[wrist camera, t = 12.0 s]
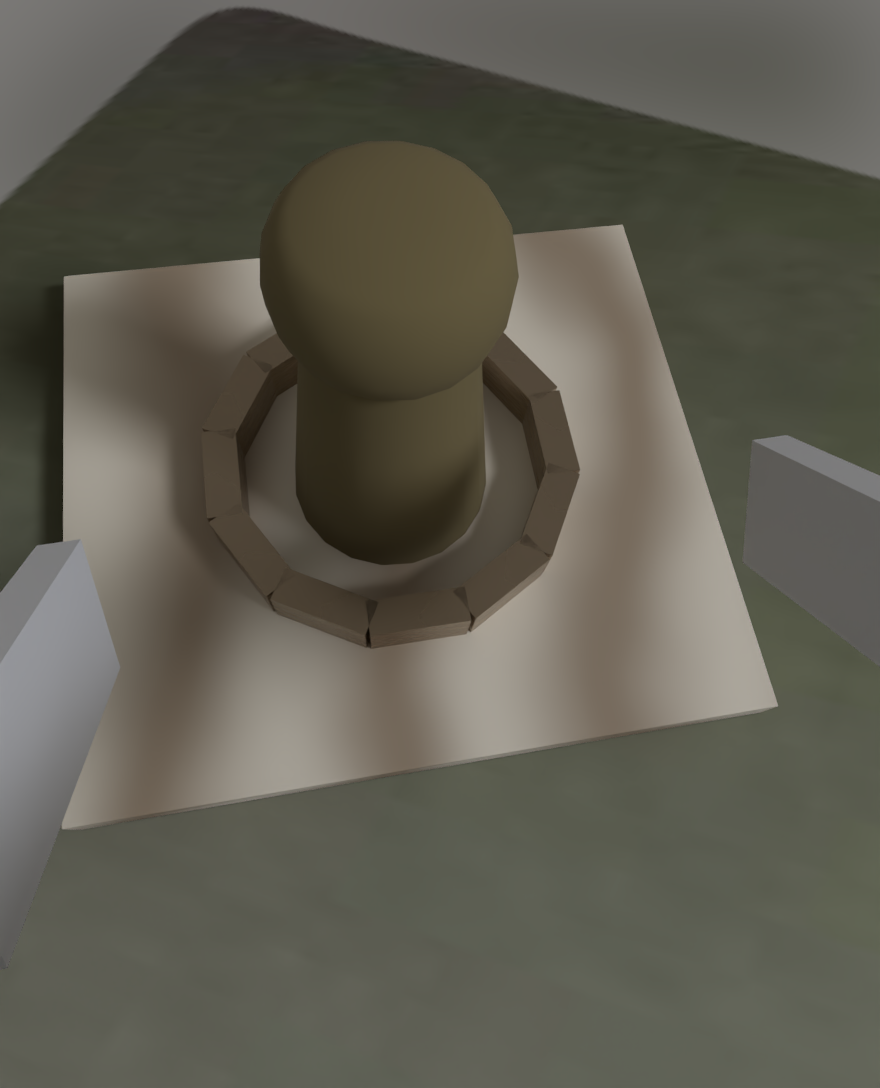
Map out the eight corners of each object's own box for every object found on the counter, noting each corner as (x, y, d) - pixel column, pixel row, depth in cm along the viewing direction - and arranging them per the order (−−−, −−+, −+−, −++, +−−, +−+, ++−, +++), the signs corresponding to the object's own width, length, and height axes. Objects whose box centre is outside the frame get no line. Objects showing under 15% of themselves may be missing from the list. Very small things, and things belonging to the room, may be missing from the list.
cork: (253, 482, 24) (149, 212, 14) (382, 361, 26) (375, 43, 15) (400, 605, 23) (406, 411, 12) (524, 468, 25) (618, 201, 14)
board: (79, 829, 21) (62, 828, 20) (77, 299, 27) (63, 276, 26) (759, 712, 23) (778, 706, 22) (613, 248, 30) (622, 224, 28)
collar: (227, 670, 22) (216, 659, 20) (204, 347, 25) (193, 319, 24) (600, 613, 23) (614, 599, 22) (524, 313, 27) (532, 284, 25)
